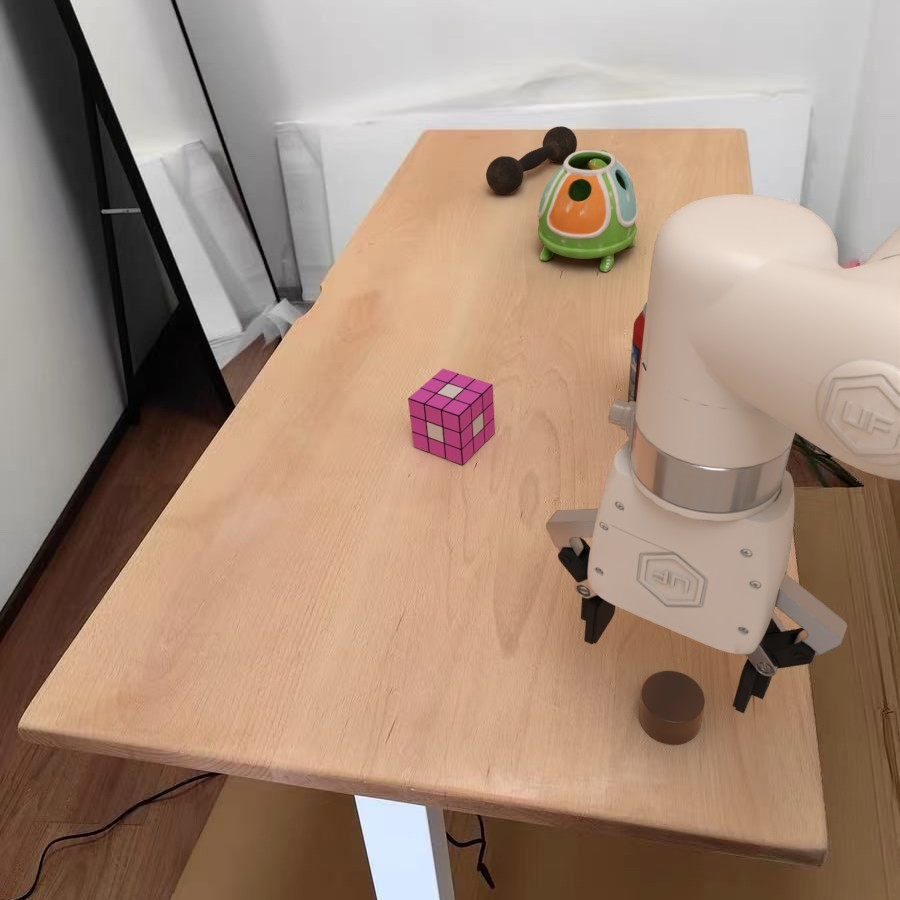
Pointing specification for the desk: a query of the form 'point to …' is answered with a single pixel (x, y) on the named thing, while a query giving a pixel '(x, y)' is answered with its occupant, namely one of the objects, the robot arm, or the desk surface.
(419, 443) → the puzzle toy
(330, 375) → the desk surface
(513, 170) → the dumbbell
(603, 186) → the turtle holder
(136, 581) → the desk surface
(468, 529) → the desk surface
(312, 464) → the desk surface
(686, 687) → the dark brown cylinder
